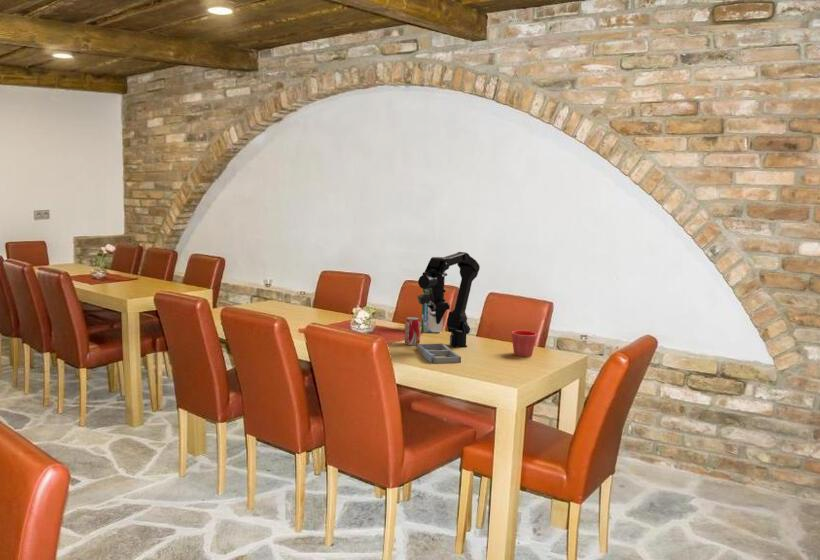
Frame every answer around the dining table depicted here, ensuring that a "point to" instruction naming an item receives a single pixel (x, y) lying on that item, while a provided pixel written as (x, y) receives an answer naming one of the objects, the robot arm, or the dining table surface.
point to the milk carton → (426, 316)
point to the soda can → (412, 331)
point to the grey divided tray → (438, 353)
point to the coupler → (433, 325)
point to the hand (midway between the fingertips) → (436, 322)
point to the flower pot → (523, 342)
